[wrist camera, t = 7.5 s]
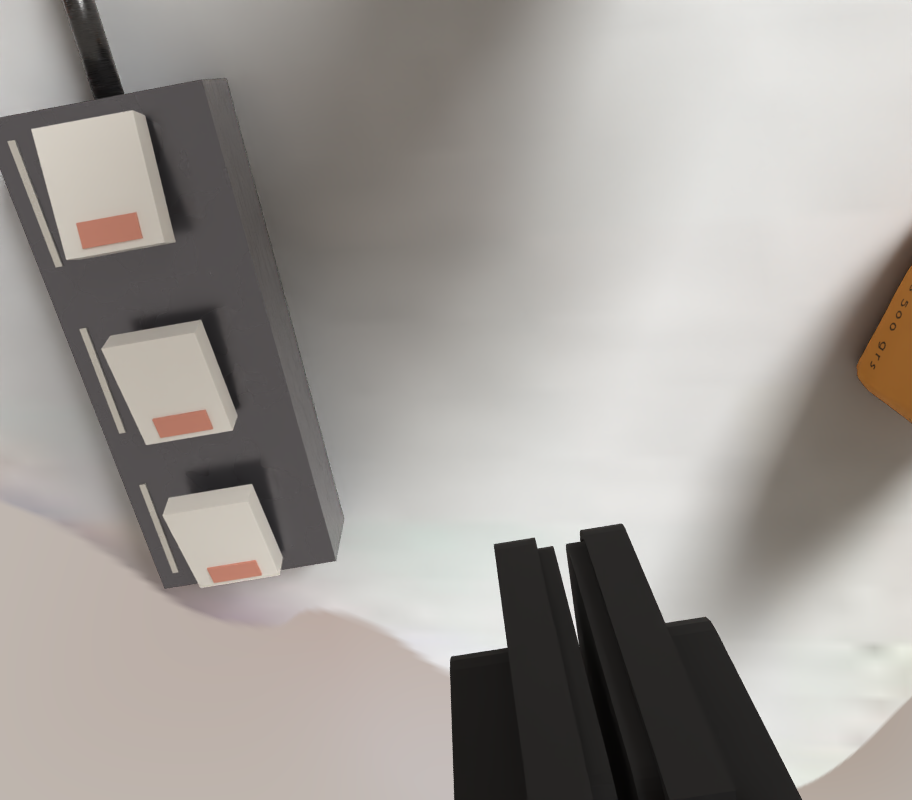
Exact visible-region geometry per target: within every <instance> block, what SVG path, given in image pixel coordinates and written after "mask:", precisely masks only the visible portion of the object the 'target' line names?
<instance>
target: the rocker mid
mask: <svg viewBox="0 0 912 800" xmlns="http://www.w3.org/2000/svg"><path fill="white" fill-rule="evenodd" d="M101 350H102V352H103V354H104V356H105V358H106V360H107V363H108V365H109V367H110V369H111V371H112V373H113V375H114V378H115V380H116V382H117V384H118V386H119V388H120V390H121V392H122V395H123V397H124V399H125V401H126V403H127V405H128V407H129V410H130V412H131V414H132V416H133V418H134V420H135V422H136V424H137V427H138V429H139V431H140V433H141V435H142V437H143V439H144V441H145V444H146V445H150V444H156V443H162V442H168V441H174V440H180V439H186V438H191V437H197V436H203V435H209V434H215V433H221V432H227V431H233V428H234V425H235V422H236V419H237V416H238V415H237V413H236V410H235V407H234V405H233V402H232V400H231V397H230V394H229V392H228V389H227V386H226V384H225V381H224V378H223V376H222V373H221V371H220V368H219V365H218V363H217V360H216V357H215V355H214V352H213V350H212V347H211V344H210V342H209V339H208V336H207V334H206V331H205V329H204V326H203V323H202V321H201V320H197V321H191V322H185V323H180V324H174V325H168V326H163V327H157V328H151V329H145V330H140V331H134V332H128V333H123V334H117V335H111V336H110V337H109V338H108V340H107V341H106V343H105V344H104V346H103V347H102V348H101Z"/></svg>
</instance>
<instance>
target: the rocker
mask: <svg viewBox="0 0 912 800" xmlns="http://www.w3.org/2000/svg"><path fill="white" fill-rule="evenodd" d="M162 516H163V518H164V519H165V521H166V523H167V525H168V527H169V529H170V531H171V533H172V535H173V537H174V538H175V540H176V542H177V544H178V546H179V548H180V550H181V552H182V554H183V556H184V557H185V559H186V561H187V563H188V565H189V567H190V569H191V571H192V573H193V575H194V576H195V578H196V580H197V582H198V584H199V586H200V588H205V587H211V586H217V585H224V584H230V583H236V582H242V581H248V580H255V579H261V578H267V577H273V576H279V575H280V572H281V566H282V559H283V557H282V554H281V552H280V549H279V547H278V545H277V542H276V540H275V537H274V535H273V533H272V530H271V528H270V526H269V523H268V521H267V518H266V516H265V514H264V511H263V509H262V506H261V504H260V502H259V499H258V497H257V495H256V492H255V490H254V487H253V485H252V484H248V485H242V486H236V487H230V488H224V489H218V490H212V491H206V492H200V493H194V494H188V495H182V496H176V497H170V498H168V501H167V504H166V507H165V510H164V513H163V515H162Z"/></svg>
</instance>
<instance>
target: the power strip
mask: <svg viewBox="0 0 912 800" xmlns="http://www.w3.org/2000/svg"><path fill="white" fill-rule="evenodd" d="M62 3H63V6H64V9H65V12H66V15H67V18H68V21H69V24H70V27H71V30H72V33H73V36H74V39H75V42H76V45H77V48H78V51H79V54H80V57H81V60H82V63H83V66H84V69H85V72H86V75H87V78H88V81H89V84H90V87H91V90H92V93H93V96H94V99H95V100H91V101H86V102H80V103H75V104H70V105H64V106H59V107H54V108H48V109H43V110H38V111H32V112H27V113H22V114H16V115H11V116H6V117H0V170H1V172H2V175H3V177H4V180H5V183H6V185H7V188H8V190H9V193H10V195H11V198H12V200H13V203H14V205H15V208H16V211H17V213H18V216H19V218H20V221H21V223H22V226H23V228H24V231H25V234H26V236H27V239H28V241H29V244H30V246H31V249H32V251H33V254H34V256H35V259H36V262H37V264H38V267H39V269H40V272H41V274H42V277H43V279H44V282H45V285H46V287H47V290H48V292H49V295H50V297H51V300H52V302H53V305H54V307H55V310H56V313H57V315H58V318H59V320H60V323H61V325H62V328H63V330H64V333H65V336H66V338H67V341H68V343H69V346H70V348H71V351H72V353H73V356H74V358H75V361H76V364H77V366H78V369H79V371H80V374H81V376H82V379H83V381H84V384H85V387H86V389H87V392H88V394H89V397H90V399H91V402H92V404H93V407H94V410H95V412H96V415H97V417H98V420H99V422H100V425H101V427H102V430H103V432H104V435H105V438H106V440H107V443H108V445H109V448H110V450H111V453H112V455H113V458H114V461H115V463H116V466H117V468H118V471H119V473H120V476H121V478H122V481H123V483H124V486H125V489H126V491H127V494H128V496H129V499H130V501H131V504H132V506H133V509H134V512H135V514H136V517H137V519H138V522H139V524H140V527H141V529H142V532H143V534H144V537H145V540H146V542H147V545H148V547H149V550H150V552H151V555H152V557H153V560H154V563H155V565H156V568H157V570H158V573H159V575H160V578H161V580H162V583H163V585H164V588H165V589H166V588H172V587H178V586H184V585H190V584H196V583H198V582H197V580H196V578H195V576H194V575H193V573H192V571H191V569H190V567H189V565H188V563H187V561H186V559H185V557H184V556H183V554H182V552H181V550H180V548H179V546H178V544H177V542H176V540H175V538H174V537H173V535H172V533H171V531H170V529H169V527H168V525H167V523H166V521H165V519H164V518H163V516H162V515H163V513H164V510H165V507H166V504H167V501H168V498H170V497H176V496H182V495H188V494H194V493H200V492H206V491H212V490H218V489H224V488H230V487H236V486H242V485H248V484H252V485H253V487H254V490H255V492H256V495H257V497H258V499H259V502H260V504H261V506H262V509H263V511H264V514H265V516H266V518H267V521H268V523H269V526H270V528H271V530H272V533H273V535H274V537H275V540H276V542H277V545H278V547H279V549H280V552H281V554H282V557H283V559H282V566H281V570H283V569H289V568H295V567H301V566H308V565H314V564H320V563H326V562H332V561H336V559H337V553H338V548H339V543H340V538H341V532H342V527H343V522H344V517H343V513H342V509H341V505H340V502H339V498H338V494H337V490H336V487H335V483H334V479H333V475H332V472H331V468H330V464H329V460H328V457H327V453H326V449H325V446H324V442H323V438H322V434H321V431H320V427H319V423H318V419H317V416H316V412H315V408H314V404H313V401H312V397H311V393H310V389H309V386H308V382H307V378H306V374H305V371H304V367H303V363H302V359H301V356H300V352H299V348H298V345H297V341H296V337H295V333H294V330H293V326H292V322H291V318H290V315H289V311H288V307H287V303H286V300H285V296H284V292H283V288H282V285H281V281H280V277H279V273H278V270H277V266H276V262H275V259H274V255H273V251H272V247H271V244H270V240H269V236H268V232H267V229H266V225H265V221H264V217H263V214H262V210H261V206H260V202H259V199H258V195H257V191H256V187H255V184H254V180H253V176H252V172H251V169H250V165H249V161H248V158H247V154H246V150H245V146H244V143H243V139H242V135H241V131H240V128H239V124H238V120H237V116H236V113H235V109H234V105H233V101H232V98H231V94H230V90H229V86H228V83H227V79H226V78H224V79H205V80H197V81H192V82H187V83H181V84H176V85H171V86H165V87H160V88H155V89H149V90H144V91H139V92H133V93H128V94H124V91H123V88H122V85H121V82H120V79H119V76H118V73H117V69H116V66H115V63H114V60H113V57H112V54H111V51H110V47H109V44H108V41H107V38H106V35H105V32H104V29H103V25H102V22H101V19H100V16H99V13H98V10H97V7H96V3H95V0H62ZM131 110H133V111H136V112H138V113H141V114H143V115H145V117H146V121H147V125H148V129H149V134H150V138H151V142H152V146H153V150H154V154H155V159H156V163H157V167H158V171H159V175H160V179H161V183H162V188H163V192H164V196H165V200H166V204H167V208H168V213H169V217H170V221H171V225H172V229H173V233H174V238H175V243H170V244H164V245H158V246H153V247H147V248H142V249H136V250H131V251H125V252H120V253H114V254H108V255H103V256H97V257H92V258H86V259H80V260H66V257H65V253H64V250H63V246H62V242H61V238H60V235H59V231H58V227H57V224H56V220H55V216H54V212H53V209H52V205H51V201H50V198H49V194H48V190H47V186H46V183H45V179H44V175H43V171H42V168H41V164H40V160H39V157H38V153H37V149H36V145H35V142H34V138H33V134H32V131H31V129H34V128H40V127H45V126H50V125H56V124H61V123H66V122H72V121H77V120H82V119H88V118H93V117H99V116H104V115H109V114H115V113H120V112H125V111H131ZM197 320H201V321H202V323H203V326H204V329H205V331H206V334H207V336H208V339H209V342H210V344H211V347H212V350H213V352H214V355H215V357H216V360H217V363H218V365H219V368H220V371H221V373H222V376H223V378H224V381H225V384H226V386H227V389H228V392H229V394H230V397H231V400H232V402H233V405H234V407H235V410H236V413H237V415H238V416H237V419H236V422H235V425H234V428H233V431H227V432H221V433H215V434H209V435H203V436H197V437H191V438H186V439H180V440H174V441H168V442H162V443H156V444H150V445H146V444H145V441H144V439H143V437H142V435H141V433H140V431H139V429H138V427H137V424H136V422H135V420H134V418H133V416H132V414H131V412H130V410H129V407H128V405H127V403H126V401H125V399H124V397H123V395H122V392H121V390H120V388H119V386H118V384H117V382H116V380H115V378H114V375H113V373H112V371H111V369H110V367H109V365H108V363H107V360H106V358H105V356H104V354H103V352H102V350H101V348H102V347H103V346H104V344H105V343H106V341H107V340H108V338H109V337H110V336H111V335H117V334H123V333H128V332H134V331H140V330H145V329H151V328H157V327H163V326H168V325H174V324H180V323H185V322H191V321H197Z"/></svg>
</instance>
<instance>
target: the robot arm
mask: <svg viewBox="0 0 912 800" xmlns="http://www.w3.org/2000/svg"><path fill="white" fill-rule="evenodd" d="M580 541H581V542H576V543H569V544H566V552H567V559H568V567H569V574H570V582H571V589H572V596H573V604H574V611H575V618H576V626H577V633H578V640H579V644H578V640H577V636H576V632H575V629H574V625H573V621H572V617H571V613H570V609H569V605H568V601H567V597H566V594H565V590H564V586H563V582H562V578H561V574H560V570H559V566H558V562H557V559H556V555H555V551H554V547H553V546H551V547H545V548H538V549H537V545H536V541H535V538H529V539H523V540H517V541H511V542H505V543H498V544H494V549H495V557H496V564H497V572H498V579H499V587H500V594H501V602H502V609H503V617H504V624H505V632H506V639H507V647H508V648H503V649H497V650H491V651H484V652H478V653H471V654H465V655H459V656H452V657H451V660H450V681H451V713H452V742H453V771H454V772H453V773H454V800H802V799H801V797H800V795H799V793H798V791H797V789H796V787H795V785H794V783H793V781H792V779H791V777H790V775H789V773H788V771H787V769H786V767H785V765H784V763H783V761H782V759H781V757H780V755H779V753H778V751H777V749H776V747H775V745H774V743H773V741H772V739H771V737H770V736H769V734H768V732H767V730H766V728H765V726H764V724H763V722H762V720H761V718H760V716H759V714H758V712H757V710H756V708H755V706H754V704H753V702H752V700H751V698H750V696H749V694H748V692H747V690H746V688H745V686H744V684H743V682H742V680H741V678H740V676H739V675H738V673H737V671H736V669H735V667H734V665H733V663H732V661H731V659H730V657H729V655H728V653H727V651H726V649H725V647H724V645H723V643H722V641H721V639H720V637H719V635H718V633H717V631H716V629H715V628H714V626H713V624H712V623H711V621H710V620H709V619H708V618H706V617H702V618H695V619H689V620H683V621H676V622H670V623H665V622H664V619H663V617H662V614H661V612H660V610H659V607H658V605H657V603H656V600H655V598H654V596H653V593H652V591H651V588H650V586H649V584H648V581H647V579H646V577H645V574H644V572H643V570H642V567H641V565H640V562H639V560H638V558H637V555H636V553H635V551H634V548H633V546H632V544H631V541H630V539H629V536H628V534H627V532H626V529H625V527H624V526H623V524H616V525H610V526H604V527H597V528H591V529H585V530H580Z"/></svg>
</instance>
